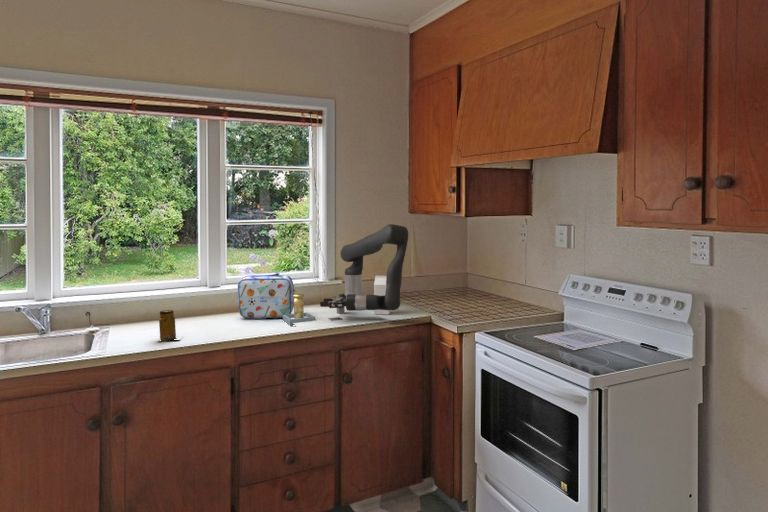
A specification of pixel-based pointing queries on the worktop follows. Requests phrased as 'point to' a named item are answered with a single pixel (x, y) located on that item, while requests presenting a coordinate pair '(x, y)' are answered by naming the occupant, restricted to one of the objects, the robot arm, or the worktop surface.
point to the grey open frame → (290, 321)
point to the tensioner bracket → (339, 310)
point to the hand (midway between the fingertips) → (322, 302)
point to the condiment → (167, 325)
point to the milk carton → (380, 292)
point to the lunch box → (265, 296)
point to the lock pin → (298, 306)
